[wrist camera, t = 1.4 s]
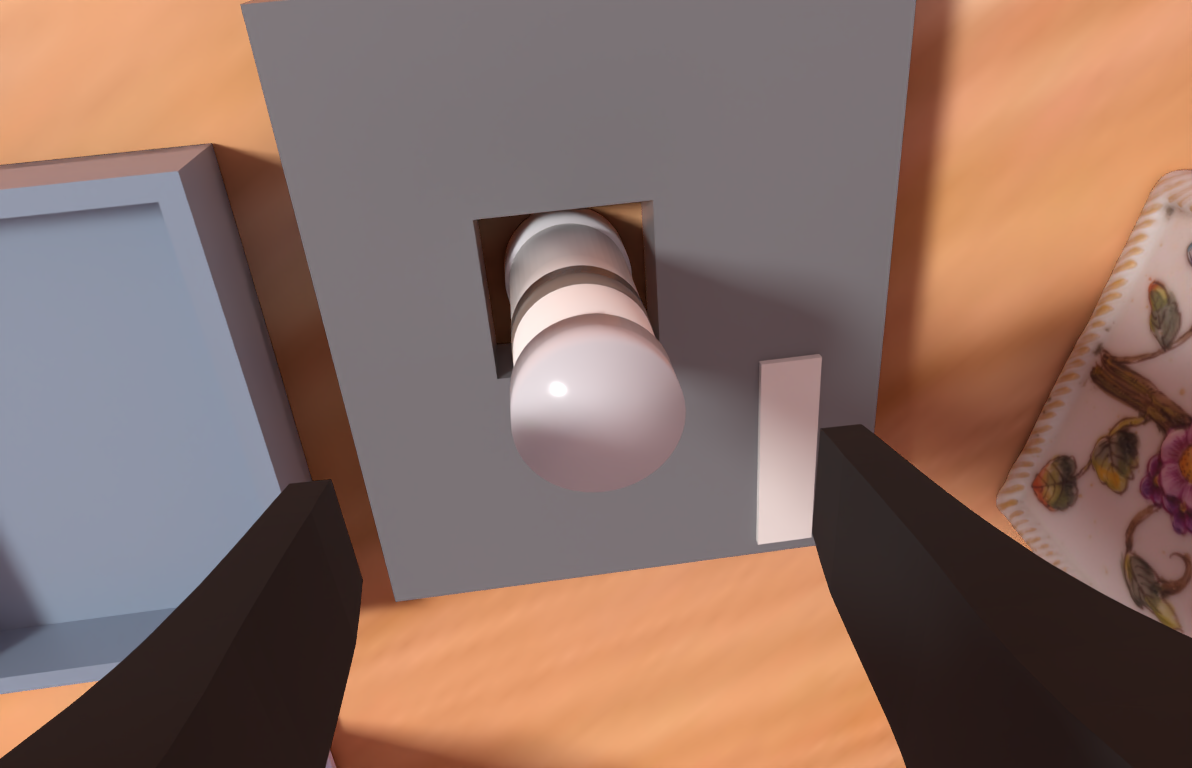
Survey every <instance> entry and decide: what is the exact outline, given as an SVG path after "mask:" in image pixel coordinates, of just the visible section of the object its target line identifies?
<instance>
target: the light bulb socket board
mask: <svg viewBox="0 0 1192 768" xmlns="http://www.w3.org/2000/svg"><path fill="white" fill-rule="evenodd" d="M240 5H241V9H242V13H243V17H244V21H245V24H246V28H247V32H248V36H249V40H250V44H251V48H252V51H253V55H254V59H255V63H256V67H257V71H258V74H259V78H260V82H261V86H262V90H263V94H264V98H265V101H266V105H267V109H268V113H269V117H270V121H271V124H272V128H273V132H274V136H275V140H276V144H277V147H278V151H279V155H280V159H281V163H282V167H283V171H284V174H285V178H286V182H287V186H288V190H289V194H290V197H291V201H292V205H293V209H294V213H295V217H296V221H297V224H298V228H299V232H300V236H301V240H302V244H303V247H304V251H305V255H306V259H307V263H308V267H309V271H310V274H311V278H312V282H313V286H314V290H315V294H316V297H317V301H318V305H319V309H320V313H321V317H322V321H323V324H324V328H325V332H326V336H327V340H328V344H329V347H330V351H331V355H332V359H333V363H334V367H335V371H336V374H337V378H338V382H339V386H340V390H341V394H342V397H343V401H344V405H345V409H346V413H347V417H348V420H349V424H350V428H351V432H352V436H353V440H354V444H355V447H356V451H357V455H358V459H359V463H360V467H361V470H362V474H363V478H364V482H365V486H366V490H367V494H368V497H369V501H370V505H371V509H372V513H373V517H374V520H375V524H376V528H377V532H378V536H379V540H380V544H381V547H382V551H383V555H384V559H385V563H386V567H387V570H388V574H389V578H390V582H391V586H392V590H393V594H394V597H395V601H396V602H398V601H406V600H413V599H421V598H428V597H435V596H443V595H450V594H458V593H465V592H473V591H480V590H487V589H495V588H502V587H510V586H517V585H525V584H532V583H540V582H547V581H554V580H562V579H569V578H577V577H584V576H592V575H599V574H606V573H614V572H621V571H629V570H636V569H644V568H651V567H659V566H666V565H673V564H681V563H688V562H696V561H703V560H711V559H718V558H725V557H733V556H740V555H748V554H755V553H763V552H770V551H778V550H785V549H792V548H800V547H807V546H815V541H814V538H813V534H812V525H813V513H814V500H815V488H816V476H817V463H818V451H819V438H820V428H827V427H837V426H846V425H856V424H862V425H863V426H865V427H866V428H867V429H869V430H870V431H871V432H872V433H874V428H875V418H876V407H877V397H878V387H879V377H880V366H881V356H882V346H883V335H884V325H885V315H886V305H887V294H888V284H889V274H890V263H891V253H892V243H893V233H894V222H895V212H896V202H897V192H898V181H899V171H900V161H901V150H902V140H903V130H904V120H905V109H906V99H907V89H908V78H909V68H910V58H911V48H912V37H913V27H914V17H915V7H916V0H251V1H249V2H246V3H243V4H240ZM631 202H641V207H642V225H643V244H644V263H645V281H646V300H647V315H648V317H649V320H650V322H651V325H652V329H653V332H654V335H655V337H656V339H657V340H658V341H659V342H660V343H661V345H662V346H663V348H664V349H665V351H666V353H667V355H668V357H669V360H670V362H671V364H672V367H673V369H674V372H675V374H676V377H677V379H678V382H679V384H680V387H681V389H682V392H683V396H684V400H685V408H686V414H685V424H684V429H683V432H682V435H681V438H680V440H679V442H678V444H677V446H676V448H675V449H674V451H673V452H672V454H671V455H670V457H669V458H668V459H667V460H666V461H665V462H664V463H663V464H662V465H661V466H660V467H659V468H658V469H657V470H656V471H654V472H653V473H652V474H650V475H649V476H647V477H646V478H644V479H642V480H640V481H638V482H637V483H634V484H632V485H629V486H627V487H624V488H620V489H617V490H612V491H606V492H580V491H573V490H569V489H565V488H562V487H559V486H557V485H554V484H552V483H550V482H548V481H546V480H545V479H543V478H542V477H540V476H539V475H537V474H536V473H535V472H534V471H533V470H532V469H531V468H530V467H529V466H528V465H527V464H526V463H525V461H524V460H523V459H522V457H521V456H520V454H519V452H518V450H517V448H516V445H515V443H514V440H513V436H512V430H511V412H510V379H511V375H512V370H513V368H514V364H513V359H512V343H506V344H497V342H496V336H495V329H494V323H493V316H492V309H491V303H490V296H489V290H488V283H487V276H486V270H485V263H484V257H483V250H482V243H481V237H480V230H479V224H478V219H486V218H495V217H504V216H513V215H522V214H531V213H540V212H550V211H559V210H568V209H577V208H586V207H595V206H604V205H613V204H622V203H631Z"/></svg>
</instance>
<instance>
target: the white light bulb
mask: <svg viewBox="0 0 1192 768" xmlns="http://www.w3.org/2000/svg"><path fill="white" fill-rule="evenodd" d="M504 264H505V285H506V292H507V296H508V299H509V302H510V306H511V343H512V359H513V364H514V368H513V370H512V375H511V379H510V412H511V430H512V436H513V440H514V443H515V445H516V448H517V450H518V452H519V454H520V456H521V457H522V459H523V460H524V461H525V463H526V464H527V465H528V466H529V467H530V468H531V469H532V470H533V471H534V472H535V473H536V474H537V475H539V476H540V477H542V478H543V479H545V480H546V481H548V482H550V483H552V484H554V485H557V486H559V487H562V488H565V489H569V490H573V491H580V492H606V491H612V490H617V489H620V488H624V487H627V486H629V485H632V484H634V483H637V482H638V481H640V480H642V479H644V478H646V477H647V476H649V475H650V474H652V473H653V472H654V471H656V470H657V469H658V468H659V467H660V466H661V465H662V464H663V463H664V462H665V461H666V460H667V459H668V458H669V457H670V455H671V454H672V452H673V451H674V449H675V448H676V446H677V444H678V442H679V440H680V438H681V435H682V432H683V429H684V424H685V414H686V408H685V400H684V396H683V392H682V389H681V387H680V384H679V382H678V379H677V377H676V374H675V372H674V369H673V367H672V364H671V362H670V360H669V357H668V355H667V353H666V351H665V349H664V348H663V346H662V345H661V343H660V342H659V341H658V340H657V339H656V337H655V335H654V332H653V329H652V325H651V322H650V320H649V317H648V315H647V312H646V310H645V307H644V305H643V303H642V300H641V298H640V297H639V294H638V292H637V289H636V287H635V284H634V282H633V279H632V271H631V265H630V261H629V258H628V255H627V253H626V250H625V248H624V245H623V243H622V241H621V238H620V236H619V234H618V233H617V231H616V229H615V228H614V227H613V226H612V224H611V223H610V222H609V221H608V220H606V219H605V218H604V217H603V216H601V215H600V214H598V213H597V212H595V211H593V210H590V209H588V208H577V209H568V210H559V211H550V212H540V213H534V214H533V215H531V216H529V217H528V218H527V219H526V220H524V221H523V222H522V223H521V224H520V225H519V226H518V228H517V229H516V230H515V232H514V233H513V235H512V237H511V239H510V240H509V243H508V246H507V249H506V253H505V263H504Z"/></svg>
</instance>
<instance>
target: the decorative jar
mask: <svg viewBox="0 0 1192 768" xmlns="http://www.w3.org/2000/svg"><path fill="white" fill-rule="evenodd" d="M996 505H997V507H998V509H999V511H1000V512H1001V513H1002V514H1004V515H1005V517H1006V518H1007V519H1008V520H1009V521H1010V523H1011V524H1012V526H1013V527H1014V529H1015V530H1016V531H1017V532H1018V534H1019V535H1020V536H1021V537H1022V538H1023V539H1024V541H1025V542H1026V543H1027V544H1028V545H1029V546H1030V548H1031V549H1032V551H1033V553H1035V554H1036V555H1038V556H1039V557H1041V558H1043V559H1044V560H1046V561H1047V562H1049V563H1051V564H1052V565H1054V566H1056V567H1057V568H1059V569H1061V570H1063V571H1064V572H1066V573H1068V574H1070V575H1071V576H1073V577H1075V578H1076V579H1078V580H1080V581H1082V582H1083V583H1085V584H1087V585H1089V586H1090V587H1092V588H1094V589H1096V590H1097V591H1099V592H1101V593H1103V594H1105V595H1106V596H1108V597H1110V598H1112V599H1114V600H1116V601H1118V602H1120V603H1122V604H1124V605H1125V606H1127V607H1129V608H1131V609H1133V610H1135V611H1137V612H1139V613H1142V614H1144V615H1146V616H1148V617H1150V618H1152V619H1154V620H1156V621H1158V622H1160V623H1162V624H1164V625H1166V626H1168V627H1170V628H1172V629H1174V630H1176V631H1178V632H1180V633H1182V634H1185V635H1187V636H1189V637H1191V638H1192V170H1177V171H1172V172H1169V173H1167V174H1166V175H1164V176H1163V177H1161V178H1160V180H1159V181H1158V182H1157V183H1156V185H1155V186H1154V188H1153V189H1152V191H1151V192H1150V195H1149V197H1148V199H1147V201H1146V204H1145V206H1144V208H1143V210H1142V212H1141V214H1140V216H1139V218H1138V221H1137V223H1136V225H1135V226H1134V228H1133V230H1132V233H1131V235H1130V237H1129V239H1128V241H1127V243H1126V245H1125V247H1124V249H1123V251H1122V253H1121V255H1120V257H1119V259H1118V260H1117V263H1116V265H1115V267H1114V269H1113V271H1112V274H1111V276H1110V278H1109V280H1108V282H1107V284H1106V286H1105V288H1104V290H1103V292H1102V295H1101V297H1100V299H1099V301H1098V303H1097V305H1096V307H1095V309H1094V312H1093V314H1092V316H1091V318H1090V320H1089V322H1088V324H1087V326H1086V327H1085V329H1084V331H1083V332H1082V334H1081V335H1080V337H1079V338H1078V340H1077V342H1076V344H1075V347H1074V349H1073V351H1072V352H1071V354H1070V356H1069V358H1068V360H1067V362H1066V364H1065V365H1064V367H1063V369H1062V371H1061V374H1060V375H1059V377H1058V379H1057V381H1056V383H1055V385H1054V387H1053V389H1052V391H1051V393H1050V395H1049V397H1048V400H1047V401H1046V403H1045V405H1044V407H1043V409H1042V411H1041V413H1040V415H1039V417H1038V419H1037V422H1036V424H1035V426H1034V428H1033V430H1032V432H1031V434H1030V437H1029V439H1028V441H1027V443H1026V445H1025V447H1024V449H1023V450H1022V452H1021V454H1020V455H1019V457H1018V459H1017V460H1016V462H1015V463H1014V465H1013V466H1012V468H1011V470H1010V472H1009V474H1008V477H1007V479H1006V482H1005V484H1004V485H1003V486H1002V487H1001V489H1000V491H999V493H998V494H997V499H996Z"/></svg>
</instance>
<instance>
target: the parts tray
mask: <svg viewBox="0 0 1192 768" xmlns="http://www.w3.org/2000/svg"><path fill="white" fill-rule="evenodd" d="M309 481H312V479H311V475H310V472H309V468H308V465H307V462H306V458H305V455H304V452H303V448H302V445H301V442H300V438H299V435H298V431H297V428H296V425H295V421H294V418H293V415H292V411H291V408H290V404H289V401H288V398H287V394H286V391H285V388H284V384H283V381H282V378H281V374H280V371H279V367H278V364H277V361H276V357H275V354H274V351H273V347H272V344H271V340H270V337H269V334H268V330H267V327H266V324H265V320H264V317H263V314H262V310H261V307H260V303H259V300H258V297H257V293H256V290H255V287H254V283H253V280H252V276H251V273H250V270H249V266H248V263H247V260H246V256H245V253H244V250H243V246H242V243H241V239H240V236H239V233H238V229H237V226H236V223H235V219H234V216H233V212H232V209H231V206H230V202H229V199H228V196H227V192H226V189H225V186H224V182H223V179H222V175H221V172H220V169H219V165H218V162H217V159H216V155H215V152H214V148H213V145H212V143H210V144H200V145H190V146H181V147H171V148H161V149H152V150H142V151H132V152H122V153H113V154H103V155H93V156H84V157H74V158H64V159H55V160H45V161H35V162H25V163H16V164H6V165H0V694H5V693H13V692H20V691H27V690H35V689H42V688H49V687H57V686H64V685H71V684H78V683H86V682H93V681H100V680H101V679H102V678H103V677H104V676H105V675H106V674H108V673H109V672H110V671H111V670H112V669H113V668H115V667H116V666H117V665H118V664H119V663H120V662H121V661H122V660H124V659H125V658H126V657H127V656H128V655H129V654H130V653H131V652H132V651H133V650H134V649H136V648H137V647H138V646H139V645H140V644H141V643H142V642H143V641H144V640H145V639H146V638H147V637H148V636H149V635H150V634H151V633H152V632H153V631H154V630H155V629H156V628H157V627H158V626H159V625H160V624H161V623H162V622H163V621H164V620H165V619H166V618H167V617H168V616H169V615H170V614H171V613H172V612H173V611H174V610H175V609H176V608H177V607H178V606H179V605H180V604H181V603H182V602H183V601H184V600H185V599H186V598H187V597H188V596H189V595H190V594H191V593H192V592H193V591H194V590H195V589H196V588H197V587H198V586H199V585H200V584H201V582H202V581H203V580H204V579H205V578H206V577H207V576H208V575H209V574H210V573H211V571H212V570H213V569H214V568H215V567H216V566H217V565H218V564H219V563H220V561H221V560H222V559H223V558H224V557H225V556H226V555H227V554H228V553H229V551H230V550H231V549H232V548H233V547H234V546H235V545H236V544H237V542H238V541H239V540H240V539H241V538H242V537H243V536H244V535H245V533H246V532H247V531H248V530H249V529H250V528H251V526H252V525H253V524H254V523H255V522H256V521H257V520H258V518H259V517H260V516H261V515H262V514H263V513H264V512H265V510H266V509H267V508H268V507H269V506H270V505H271V504H272V502H273V501H274V500H275V499H276V498H277V497H278V496H279V494H280V493H281V492H282V491H283V490H284V489H285V488H286V487H287V486H288V485H289V484H290V483H299V482H309Z"/></svg>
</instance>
